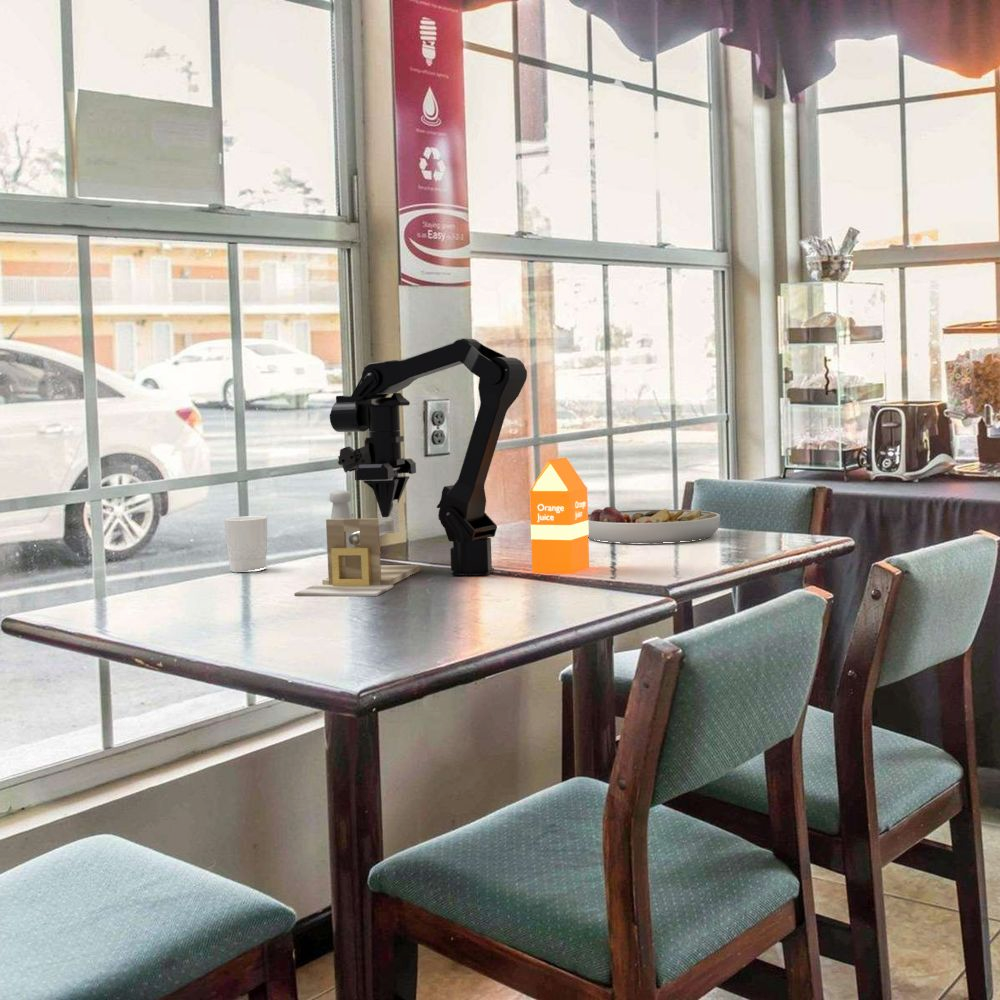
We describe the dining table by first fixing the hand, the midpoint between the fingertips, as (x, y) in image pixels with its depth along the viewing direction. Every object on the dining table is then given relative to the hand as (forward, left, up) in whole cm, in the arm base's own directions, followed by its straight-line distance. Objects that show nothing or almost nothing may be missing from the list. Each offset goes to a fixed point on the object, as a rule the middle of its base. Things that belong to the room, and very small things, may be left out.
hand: (388, 516), depth 237 cm
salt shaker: (+18, -25, -10) cm, 32 cm away
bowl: (-43, -50, -10) cm, 67 cm away
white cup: (+28, 0, -10) cm, 30 cm away
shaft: (0, +9, -3) cm, 9 cm away
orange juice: (-32, 0, -10) cm, 34 cm away
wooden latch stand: (0, +16, -10) cm, 19 cm away
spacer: (0, +22, -10) cm, 24 cm away
